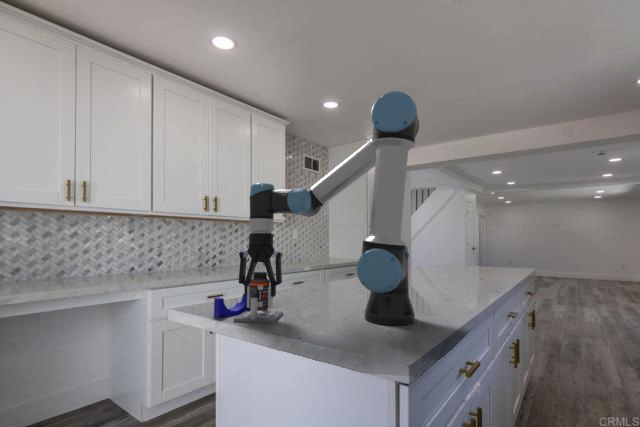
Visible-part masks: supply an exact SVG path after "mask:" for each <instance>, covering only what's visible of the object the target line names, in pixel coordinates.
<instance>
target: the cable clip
mask: <svg viewBox="0 0 640 427" xmlns="http://www.w3.org/2000/svg"><path fill="white" fill-rule="evenodd" d="M224 300H225V299H224V298H223V297H214V299H213V301H214V302H213V317H214V318H216V317H217V319H222V318H223V319H224V318H227V317H233V316H238V315H240V314H242V313H243V312H245V311H247V310H251V309H250V307H249V308H247V296H245V295H244V293H243V294H242V297H241V300H240V302H237V303H236V304H235V305H234V306H233V307H230V308H228V307H227V306H226V303H225V301H224Z"/></svg>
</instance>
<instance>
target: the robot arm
mask: <svg viewBox="0 0 640 427" xmlns="http://www.w3.org/2000/svg"><path fill="white" fill-rule="evenodd" d="M417 110H418V109H417V105H416V103H415V101H414V100H413V98H412V97H411V96H410V95H409V94H407V93H405V92H403V91H396V90H394V91H393V90H392V91H389V92H386V93H384V94H382V95H380V96H379V97H378V98H377V99H376V100H375V102H374V104H373V105H372V107H371V112H370V117H371V122H372V124H373V127H372V129H373V130H372V134H371V136H370V140H369V141H367V142H366V143H364V144H363V145H362V146H361V147H359V149H357V150H356V151H355V152H354V153H352V154H351V155H350V156H349V157H347V158H346V159H345V160H343V161H342V162H340V163H339V164H338V165H337V166H336V167H335V168H333V169H331V171H330V172H328V173H327V174H326V175H325V176H323V177H321V178H320V179H319V180H318V181H317V182H315V183H314V184H313V185H312V186H311V187H309V188H308V189H306V188H296V187H295V188H285V189H275V186H274V184H272V183H265V182H263V183H262V182H257V183H256V182H255V183H253V184H252V185H251V186H250V191H249V222H248V225H249V226H248V230H249V232H250V233H249V234H248V248H247V250H245V251H239V253H238V255H239V259H240V262H239V273H238V284H240V285H243V286H244V288H243V289H244V292H243V294H244V295H245V296H247V308H249V307H250V282H251V280H252V279H253V278H254V272H255V270H256V267H257V264H258V263H263V265H264V268H265V270H266V272H267V278H268V280H269V282H270V283H269V285H270V286H269V287H268V309H272V308H273V306H274V305H273V303H274V302H273V299H274V298H275V297H276V295H277V286H279V285H281V284H283V275H282V257H283V254H284V253H283V252H282V251H276V250H275V248H274V234H273V233H272V232H274V220H275V218H274V214H275V215H276V214H288V215H289V214H291V215H297V216H303V217H307V218H308V217H309V218H310V217H314V216H316V215H317V214H319V213H320V211H321V209H322V207H323V206H325V205H326V204H327V203H328V202H330V201H331V200H332V199H333V198H335V197H336V196H337V195H339V194H340V193H341V192H343V191H344V190H346V189H347V188H348V187H349V186H351V185H352V184H353V183H355V182H356V181H357V180H359V179H360V178H362V177H363V176H364V175H365V174H366V173H368V172H369V171H370V170H372V169H374V168H375V169H374V177H373V178H374V179H373V188H372V197H371V198H372V199H371V200H372V202H371V211H370V221H369V222H370V224H369V231H368V235H367V236H366V237H364V239H363V240H362V248H361V255H360V257H359V258H358V261H357V265H356V275H357V279H358V281H359V282H360V283H361V285H362V286H363V287H364V288H365V289H367V290H368V291H370V294H369V297H368V301H367V303H366V306H365V309H364V319H365V320H366V321H367V322H371V323H374V324H379V325H386V326H387V325H388V326H403V325H410V324H413V323H415V322H416V316H415V315H416V314H415V310H414V307H413V303H412V300H411V298H410V294H409V291H410V290H409V258H410V257H409V256H410V255H409V248H408V246H407V244H406V243H405V242H404V240H403V239H402V236H401V235H402V225H403V214H404V202H405V190H406V180H407V169H408V159H409V158H408V156H409V152H410V150H411V149H413V148H414V147H415V144H416V143H415V142H416V137H417V135H418V133H419V130H420V120H419V117H418V112H417ZM273 255H274V259H275V261H274V262H275V273H274V270H273V267H272V261H271V258H272V257H273ZM248 257H250V258H251V259H250V261H249V262H250V263H249V268H248V271H247V259H248ZM246 271H247V273H246Z"/></svg>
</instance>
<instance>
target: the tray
mask: <svg viewBox="0 0 640 427" xmlns="http://www.w3.org/2000/svg"><path fill="white" fill-rule="evenodd" d="M257 305H258V298H251V310H247V311H245V312H243V313H242V314H240V315H236V316H235V317H234V318H233V323H254V324H255V323H256V324H274V323H275V322H277V321H278V319H280V318H281V317H282V316H284V311H283V310H269V308H268V309H266V310H257Z"/></svg>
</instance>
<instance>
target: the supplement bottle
mask: <svg viewBox="0 0 640 427" xmlns="http://www.w3.org/2000/svg"><path fill="white" fill-rule="evenodd" d="M269 286H270V281H269V278H268V274H267V271H254V273H253V277H252V280H251V282H250V309H251V298H258V305H257V310H266V309H268V310H269V308H268V287H269Z"/></svg>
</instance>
